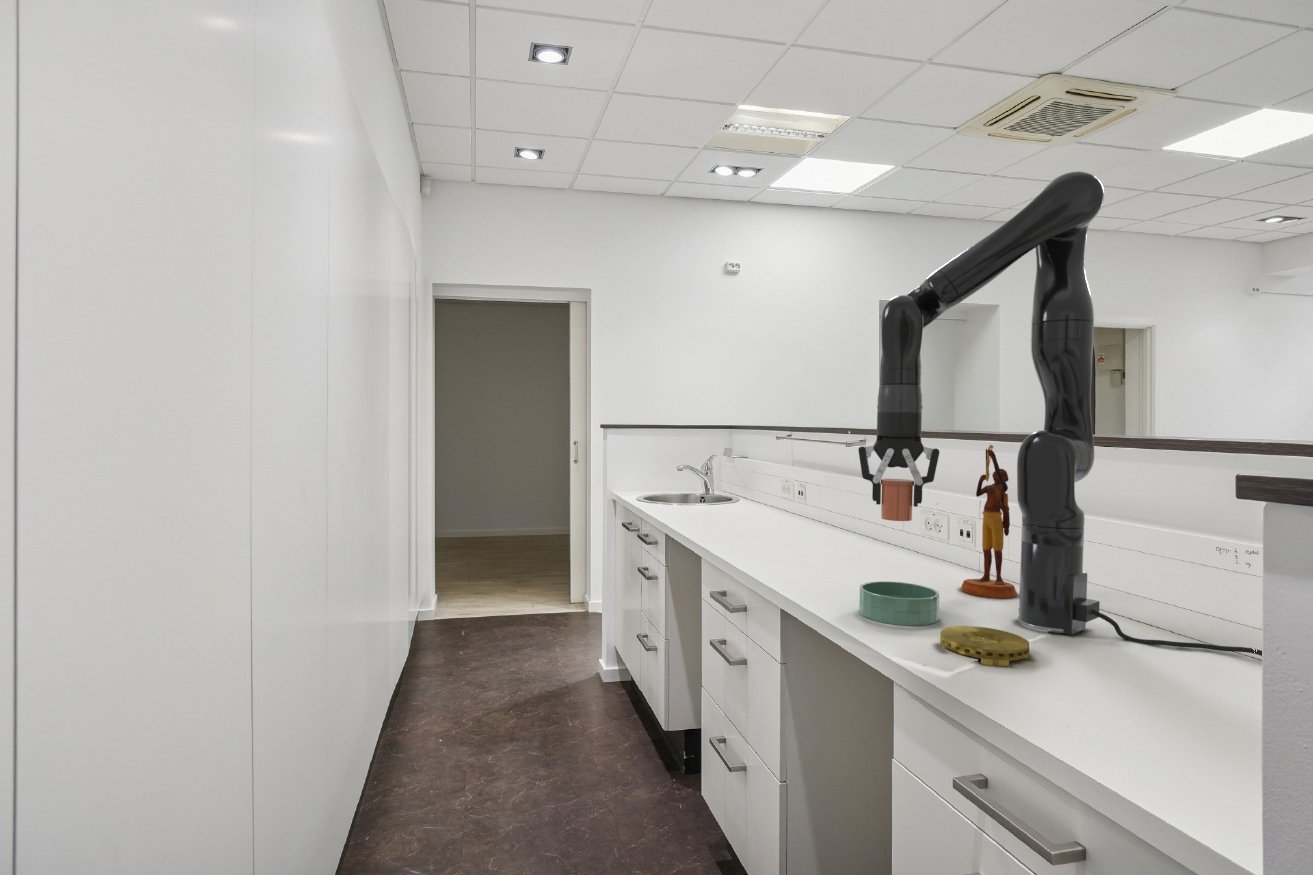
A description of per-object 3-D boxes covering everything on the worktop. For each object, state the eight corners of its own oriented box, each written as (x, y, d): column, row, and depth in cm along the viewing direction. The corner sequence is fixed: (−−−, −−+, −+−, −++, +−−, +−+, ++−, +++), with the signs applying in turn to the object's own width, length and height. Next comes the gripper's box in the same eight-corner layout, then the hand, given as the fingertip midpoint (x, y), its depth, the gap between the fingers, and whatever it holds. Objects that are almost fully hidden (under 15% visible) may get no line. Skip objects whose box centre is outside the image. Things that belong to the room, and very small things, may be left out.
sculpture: (951, 588, 148) (955, 443, 148) (991, 585, 151) (995, 444, 151) (986, 599, 139) (991, 445, 138) (1028, 597, 142) (1033, 446, 141)
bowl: (952, 620, 123) (953, 592, 123) (911, 633, 115) (912, 603, 115) (886, 604, 133) (886, 578, 133) (843, 615, 125) (844, 587, 125)
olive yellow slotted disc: (998, 671, 98) (999, 655, 98) (923, 647, 108) (923, 632, 108) (1045, 656, 105) (1045, 642, 105) (970, 635, 115) (970, 622, 115)
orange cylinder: (919, 519, 127) (920, 480, 127) (902, 522, 124) (903, 481, 124) (891, 516, 132) (892, 478, 132) (873, 518, 128) (874, 479, 128)
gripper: (855, 409, 126) (853, 505, 127) (943, 410, 121) (940, 509, 122) (859, 410, 133) (856, 501, 134) (942, 411, 129) (939, 505, 129)
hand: (896, 504), depth 128 cm, fingers closed on orange cylinder, 5 cm apart
